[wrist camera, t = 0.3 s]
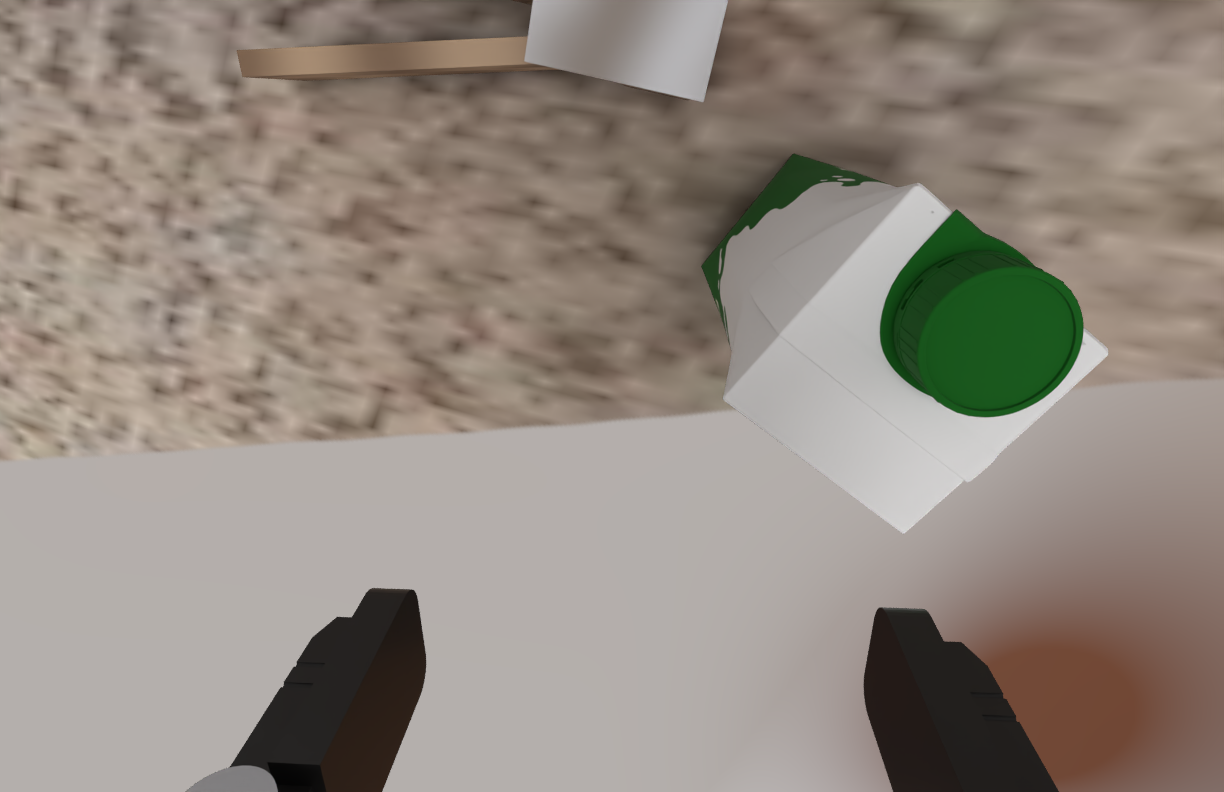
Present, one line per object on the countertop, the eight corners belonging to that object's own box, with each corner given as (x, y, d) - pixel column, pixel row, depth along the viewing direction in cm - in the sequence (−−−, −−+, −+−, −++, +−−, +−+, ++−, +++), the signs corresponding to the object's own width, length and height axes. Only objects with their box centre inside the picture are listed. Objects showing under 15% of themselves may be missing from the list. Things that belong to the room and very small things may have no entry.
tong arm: (624, 1, 32) (617, -18, 27) (626, 66, 33) (620, 60, 28) (293, 18, 33) (226, 2, 28) (305, 80, 34) (242, 77, 29)
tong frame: (716, 9, 33) (730, -12, 26) (694, 101, 34) (703, 102, 28) (296, -88, 32) (207, -134, 26) (294, 10, 34) (209, -11, 27)
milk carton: (920, 236, 36) (1197, 378, 18) (798, 366, 39) (924, 604, 21) (791, 124, 34) (948, 153, 16) (674, 270, 37) (691, 436, 19)
